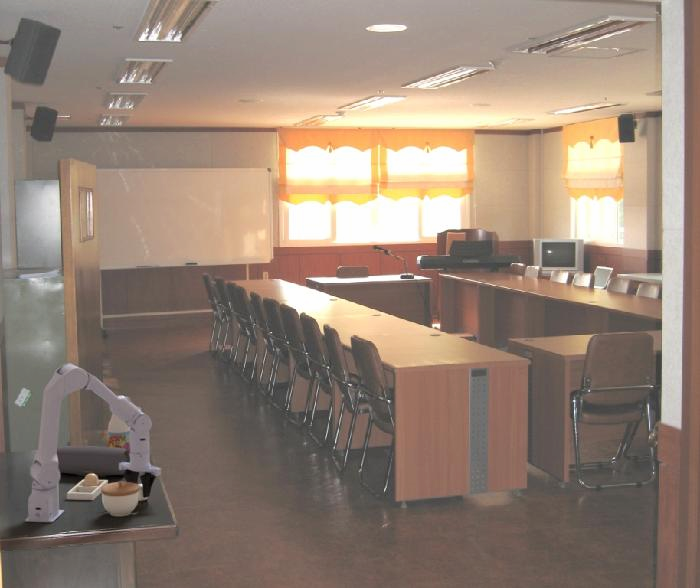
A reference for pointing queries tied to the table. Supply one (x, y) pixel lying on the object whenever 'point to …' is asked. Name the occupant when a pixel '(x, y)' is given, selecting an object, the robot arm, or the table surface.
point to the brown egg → (91, 480)
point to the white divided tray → (86, 491)
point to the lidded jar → (120, 497)
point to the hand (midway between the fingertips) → (140, 495)
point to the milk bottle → (118, 433)
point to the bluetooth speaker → (91, 460)
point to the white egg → (141, 493)
